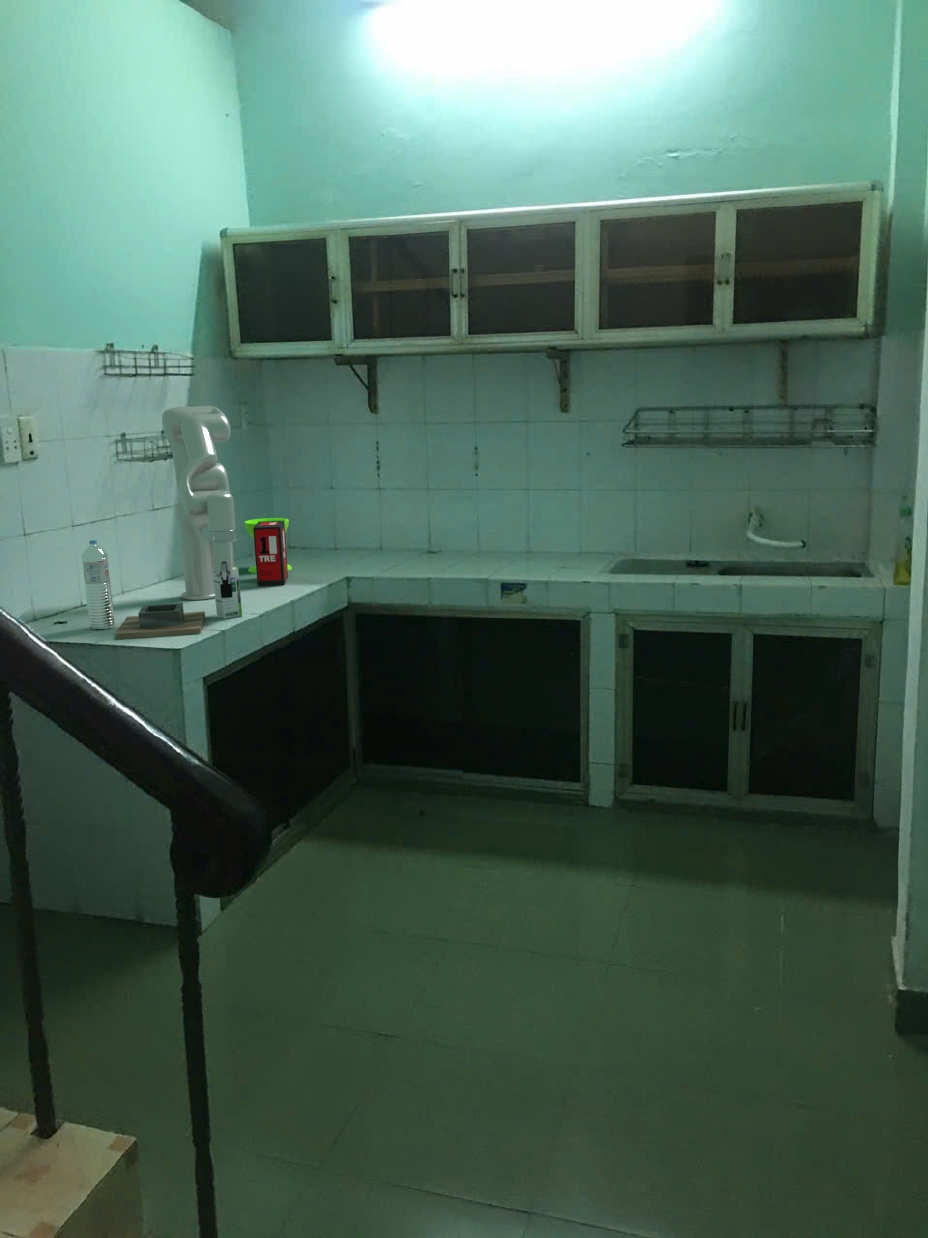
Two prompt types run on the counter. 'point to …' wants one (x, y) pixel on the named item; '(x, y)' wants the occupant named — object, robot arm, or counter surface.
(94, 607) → the water bottle
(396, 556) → the counter surface
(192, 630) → the socket board
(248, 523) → the wineglass
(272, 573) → the cleaning product box
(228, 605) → the syrup box
